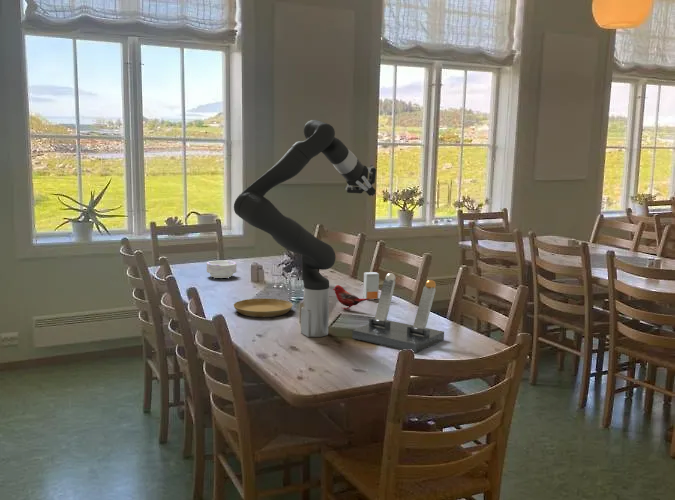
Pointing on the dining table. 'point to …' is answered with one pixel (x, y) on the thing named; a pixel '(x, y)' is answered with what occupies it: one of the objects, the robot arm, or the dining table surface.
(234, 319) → the dining table surface
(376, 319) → the white lever
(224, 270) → the white footed bowl
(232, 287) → the dining table surface
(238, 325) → the dining table surface
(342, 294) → the decorative bird figurine
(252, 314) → the plant saucer
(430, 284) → the orange lever
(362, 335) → the switch panel
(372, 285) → the skincare box
